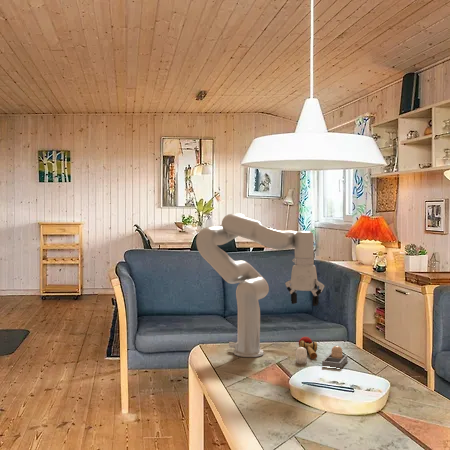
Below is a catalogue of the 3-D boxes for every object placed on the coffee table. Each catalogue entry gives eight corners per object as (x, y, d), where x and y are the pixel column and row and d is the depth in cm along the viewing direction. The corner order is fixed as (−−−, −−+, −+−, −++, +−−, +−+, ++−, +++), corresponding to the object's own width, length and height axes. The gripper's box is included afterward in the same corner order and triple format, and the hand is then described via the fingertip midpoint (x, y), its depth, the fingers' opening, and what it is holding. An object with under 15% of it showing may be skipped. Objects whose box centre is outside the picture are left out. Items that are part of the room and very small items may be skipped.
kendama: (324, 362, 250) (313, 345, 268) (322, 348, 249) (311, 332, 267) (306, 365, 250) (296, 349, 267) (304, 351, 249) (294, 335, 266)
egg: (294, 363, 243) (294, 347, 243) (297, 360, 247) (297, 345, 247) (305, 364, 241) (305, 348, 241) (308, 361, 245) (308, 346, 245)
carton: (322, 367, 237) (322, 350, 237) (330, 359, 249) (330, 343, 249) (339, 369, 234) (340, 352, 234) (347, 361, 247) (347, 344, 246)
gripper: (280, 261, 245) (281, 303, 246) (319, 263, 235) (319, 307, 236) (290, 260, 251) (290, 301, 252) (328, 262, 241) (328, 305, 242)
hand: (304, 304), depth 244 cm, fingers open, 9 cm apart
